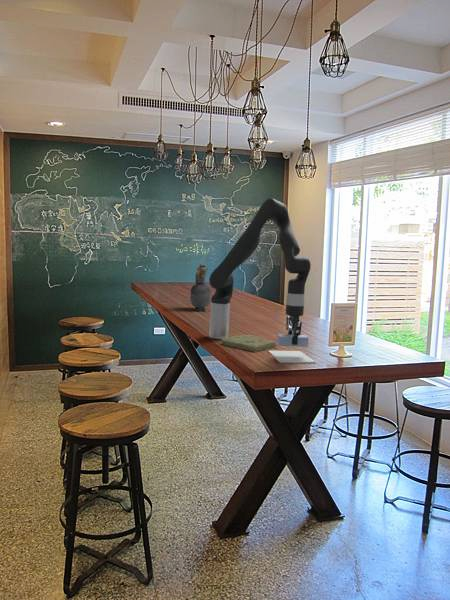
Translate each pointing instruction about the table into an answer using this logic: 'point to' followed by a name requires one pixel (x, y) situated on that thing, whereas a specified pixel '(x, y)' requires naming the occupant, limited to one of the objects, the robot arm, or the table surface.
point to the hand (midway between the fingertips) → (292, 342)
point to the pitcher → (200, 290)
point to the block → (287, 340)
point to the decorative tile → (249, 343)
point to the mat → (291, 357)
